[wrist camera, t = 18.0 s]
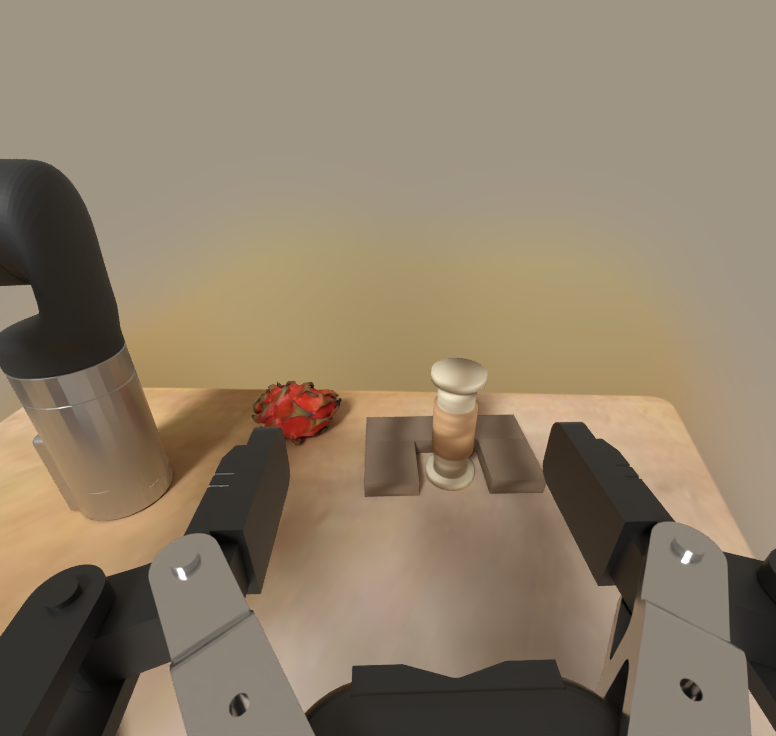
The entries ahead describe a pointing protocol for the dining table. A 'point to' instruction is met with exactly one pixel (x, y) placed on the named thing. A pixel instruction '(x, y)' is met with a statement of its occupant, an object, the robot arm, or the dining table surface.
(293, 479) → the dining table surface
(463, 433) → the bobbin
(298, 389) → the dragon fruit
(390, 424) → the notched board
